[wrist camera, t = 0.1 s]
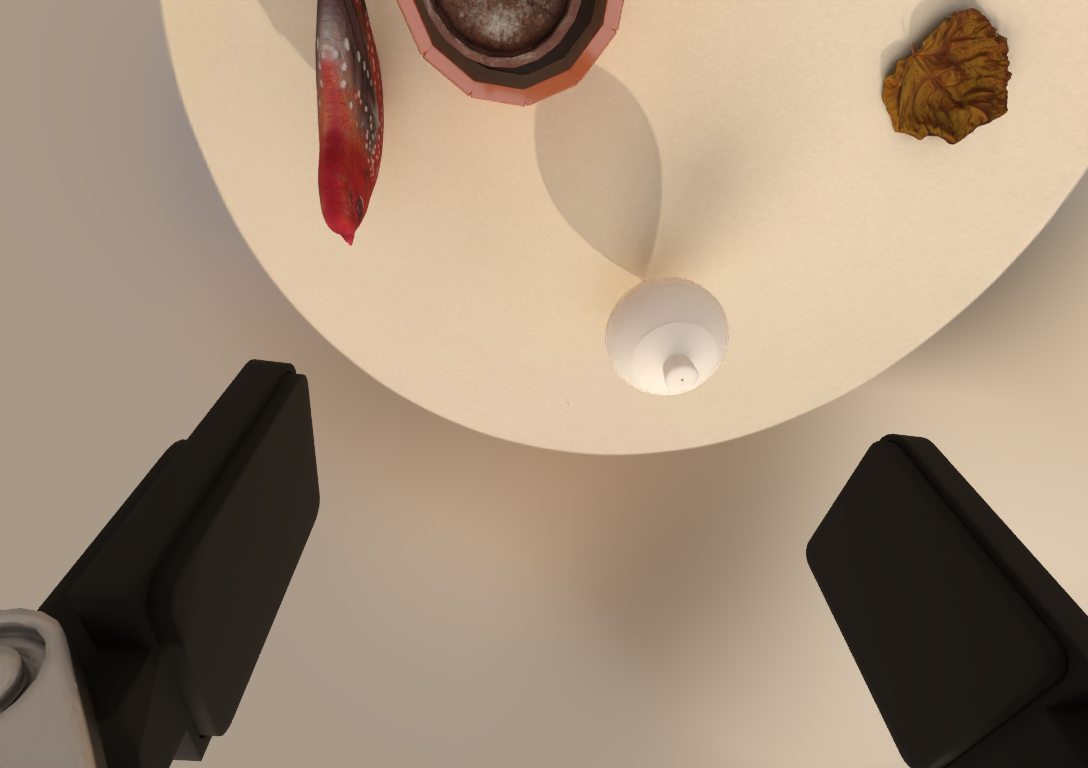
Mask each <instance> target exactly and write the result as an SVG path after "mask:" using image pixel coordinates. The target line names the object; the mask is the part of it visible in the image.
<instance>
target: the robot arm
mask: <svg viewBox="0 0 1088 768" xmlns="http://www.w3.org/2000/svg"><path fill="white" fill-rule="evenodd" d="M319 495H320V494H319V486H318V476H317V466H316V456H315V447H314V437H313V427H312V418H311V408H310V398H309V389H308V381H307V378H306V376H305V375H303V374H296V370H295V368H294V366H293V365H292V364H290V363H282V362H273V361H264V360H256V359H253V360H250V361H249V362H248V363H246V365H245V366H244V367H243V368H242V370H241V371H240V372H239V374H238V375H237V376H236V378H235V379H234V380H233V381H232V383H231V384H230V385H229V387H228V388H227V389H226V390H225V392H224V393H223V394H222V395H221V397H220V398H219V399H218V400H217V402H216V403H215V405H214V406H213V407H212V408H211V409H210V411H209V412H208V413H207V415H206V416H205V417H204V419H203V420H202V421H201V422H200V424H199V425H198V426H197V427H196V429H195V430H194V431H193V433H192V434H191V435H190V436H189V438H188V439H187V440H183V439H182V440H180V441H177V442H175V443H174V444H173V445H172V446H170V447H169V449H167V450H166V452H165V453H164V454H163V455H162V456H161V458H160V459H159V460H158V461H157V463H156V464H155V465H154V466H153V468H152V469H151V470H150V471H149V473H148V474H147V475H146V476H145V478H144V479H143V480H142V481H141V482H140V484H139V485H138V486H137V487H136V489H135V490H134V491H133V492H132V494H131V495H130V496H129V497H128V499H127V500H126V501H125V502H124V504H123V505H122V506H121V507H120V509H119V510H118V511H117V512H116V514H115V515H114V516H113V517H112V518H111V520H110V521H109V522H108V523H107V525H106V526H105V527H104V528H103V530H102V531H101V532H100V533H99V535H98V536H97V537H96V538H95V539H94V541H93V542H92V543H91V544H90V546H89V547H88V548H87V549H86V551H85V552H84V553H83V554H82V556H81V557H80V558H79V559H78V560H77V562H76V563H75V564H74V565H73V567H72V568H71V569H70V570H69V572H68V573H67V574H66V575H65V577H64V578H63V579H62V581H61V582H60V583H59V584H58V585H57V587H56V588H55V589H54V590H53V592H52V593H51V594H50V595H49V597H48V598H47V599H46V600H45V601H44V603H43V604H42V605H41V606H40V608H39V609H38V610H37V611H35V610H28V609H21V608H18V609H9V610H0V768H169V767H170V765H171V763H172V760H189V761H201V760H202V758H203V756H204V753H205V751H206V749H207V746H208V744H209V742H210V739H211V737H212V736H222V735H223V734H224V733H225V732H226V731H227V729H228V728H229V726H230V724H231V722H232V720H233V718H234V715H235V713H236V711H237V708H238V706H239V703H240V701H241V698H242V696H243V694H244V691H245V689H246V686H247V684H248V682H249V679H250V677H251V674H252V672H253V669H254V667H255V665H256V662H257V660H258V658H259V655H260V653H261V650H262V648H263V645H264V643H265V641H266V638H267V636H268V633H269V631H270V629H271V626H272V624H273V621H274V619H275V617H276V614H277V612H278V609H279V607H280V605H281V602H282V600H283V597H284V595H285V593H286V590H287V588H288V585H289V583H290V580H291V578H292V576H293V573H294V571H295V568H296V566H297V564H298V561H299V559H300V556H301V554H302V551H303V549H304V547H305V544H306V542H307V540H308V537H309V535H310V532H311V530H312V527H313V525H314V522H315V520H316V517H317V513H318V510H319V501H320V496H319ZM806 557H807V562H808V564H809V567H810V569H811V571H812V573H813V575H814V577H815V579H816V581H817V583H818V585H819V587H820V589H821V591H822V593H823V595H824V597H825V599H826V602H827V604H828V606H829V608H830V610H831V612H832V614H833V616H834V618H835V620H836V622H837V624H838V626H839V628H840V630H841V633H842V635H843V637H844V639H845V641H846V643H847V645H848V647H849V649H850V651H851V653H852V655H853V657H854V659H855V661H856V664H857V665H858V668H859V670H860V672H861V674H862V676H863V678H864V680H865V682H866V684H867V686H868V688H869V690H870V692H871V695H872V697H873V699H874V701H875V703H876V704H877V707H878V709H879V711H880V713H881V715H882V717H883V719H884V721H885V723H886V725H887V728H888V730H889V731H890V734H891V736H892V738H893V740H894V742H895V744H896V746H897V748H898V750H899V752H900V754H901V756H902V758H903V759H904V761H905V762H906V763H907V765H908V766H909V767H910V768H1088V616H1087V615H1086V614H1085V613H1084V611H1082V609H1081V608H1080V607H1079V606H1078V605H1077V604H1076V602H1074V600H1073V599H1072V598H1071V597H1070V596H1069V595H1068V594H1067V592H1065V590H1064V589H1063V588H1062V587H1061V586H1060V585H1059V584H1058V582H1057V581H1056V580H1055V579H1054V578H1053V577H1052V576H1051V574H1050V573H1049V572H1048V571H1047V570H1046V569H1045V568H1044V567H1043V566H1042V564H1041V563H1040V562H1039V561H1038V560H1037V559H1036V558H1035V557H1034V556H1033V555H1032V553H1031V552H1030V551H1029V550H1028V549H1027V548H1026V547H1025V545H1024V544H1023V543H1022V542H1021V541H1020V540H1019V539H1018V538H1017V537H1016V535H1015V534H1014V533H1013V532H1012V531H1011V530H1010V529H1009V528H1008V526H1007V525H1006V524H1005V523H1004V522H1003V521H1002V520H1001V519H1000V518H999V517H998V515H997V514H996V513H995V512H994V511H993V510H992V509H991V507H990V506H989V505H988V504H987V503H986V502H985V501H984V500H983V499H982V497H981V496H980V495H979V494H978V493H977V492H976V491H975V490H974V488H973V487H972V486H971V485H970V484H969V483H968V482H967V481H966V480H965V478H964V477H963V476H962V475H961V474H960V473H959V472H958V471H957V469H956V468H955V467H954V466H953V465H952V464H951V463H950V462H949V461H948V459H947V458H946V457H945V456H944V455H943V454H942V453H941V452H940V450H939V449H938V448H937V447H936V446H935V445H934V444H933V443H932V442H931V441H930V440H928V439H926V438H923V437H915V436H907V435H898V434H888V435H886V436H884V437H882V438H881V439H880V441H877V442H875V443H873V444H872V445H871V446H870V447H869V449H868V451H867V452H866V454H865V455H864V457H863V458H862V460H861V461H860V463H859V465H858V466H857V468H856V469H855V471H854V472H853V474H852V476H851V477H850V479H849V480H848V482H847V483H846V485H845V486H844V488H843V489H842V491H841V492H840V494H839V496H838V497H837V499H836V500H835V502H834V503H833V505H832V507H831V508H830V510H829V511H828V513H827V514H826V516H825V517H824V519H823V520H822V522H821V523H820V525H819V527H818V528H817V530H816V531H815V533H814V534H813V536H812V538H811V539H810V541H809V542H808V545H807V549H806Z"/></svg>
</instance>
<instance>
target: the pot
mask: <svg viewBox="0 0 1088 768" xmlns="http://www.w3.org/2000/svg"><path fill="white" fill-rule="evenodd" d="M623 2H624V0H595V4H594V10H593V16H592V20H591V21H590V23H589V24H588V25H587V27H586V28H585V30H584V31H583V32H582V34H581V35H580V37H579V38H578V39H577V41H576V42H575V44H574V45H573V46H572V48H571V49H570V51H569V52H568V53H567V55H566V56H565V58H563V59H561V60H559V61H557V62H554V63H552V64H550V65H548V66H545V67H543V68H541V69H539V70H536V71H534V72H532V73H530V74H527V75H520V74H514V73H508V72H503V71H497V70H491V69H486V68H483V67H482V66H481V65H480V64H478V63H477V62H476V61H474V60H472V59H469V58H467V57H465V56H464V55H463V54H462V53H460V52H459V51H458V50H457V49H456V48H455V47H453V46H452V45H451V44H450V43H449V42H447V41H446V40H445V39H444V37H443V36H442V34H441V33H440V31H439V30H438V28H437V27H436V25H435V24H434V22H433V21H432V19H431V18H430V16H429V15H428V13H427V10H426V7H425V4H424V1H423V0H397V3H398V5H399V7H400V9H401V12H402V14H403V16H404V18H405V21H406V23H407V25H408V27H409V30H410V32H411V34H412V36H413V39H414V41H415V43H416V45H417V48H418V50H419V52H420V54H421V55H423V54H424V55H423V58H424V59H425V60H426V61H427V62H429V63H430V64H431V65H432V66H433V67H435V68H436V69H437V70H438V71H439V72H441V73H442V74H443V75H444V76H445V77H446V78H448V79H449V80H450V81H451V82H452V83H454V84H455V85H456V86H457V87H458V88H459V89H461V90H462V91H463V92H464V93H465V94H467V95H468V96H470V95H471V97H472V98H476V99H482V100H488V101H494V102H500V103H506V104H512V105H518V106H525V103H526V106H529V105H531V104H534V103H536V102H538V101H541V100H543V99H545V98H548V97H550V96H552V95H554V94H557V93H559V92H561V91H564V90H566V89H568V88H571V87H573V86H575V85H577V81H578V82H581V80H582V79H583V77H584V76H585V75H586V73H587V72H588V71H589V69H590V68H591V67H592V65H593V64H594V63H595V61H596V60H597V59H598V57H599V56H600V55H601V53H602V52H603V51H604V49H605V48H606V47H607V45H608V44H609V43H610V41H611V40H612V38H613V37H614V36H615V34H616V31H615V30H618V28H619V23H620V18H621V13H622V7H623Z"/></svg>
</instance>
